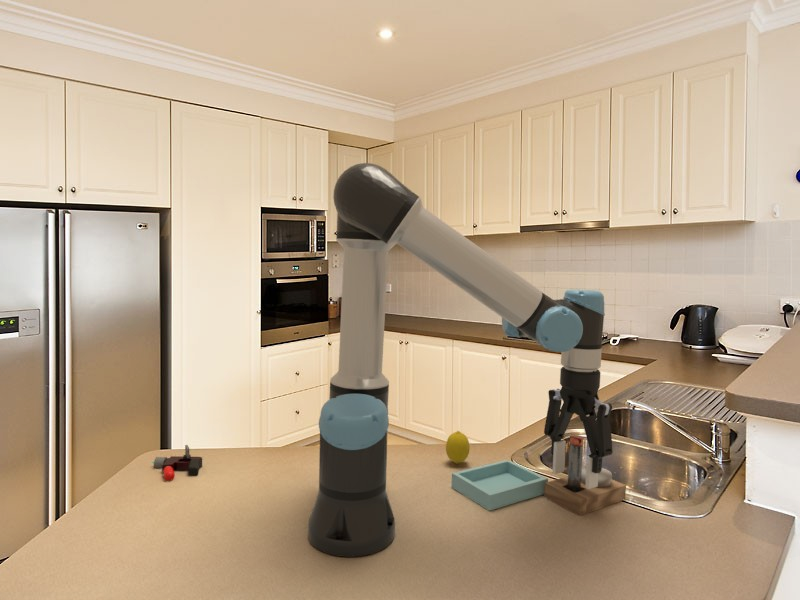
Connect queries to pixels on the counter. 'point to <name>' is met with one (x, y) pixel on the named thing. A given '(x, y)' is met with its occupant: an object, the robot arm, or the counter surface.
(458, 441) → the lemon
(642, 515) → the counter surface
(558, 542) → the counter surface
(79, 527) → the counter surface
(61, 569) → the counter surface
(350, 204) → the robot arm
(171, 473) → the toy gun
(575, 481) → the pin
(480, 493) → the tray
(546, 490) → the block
